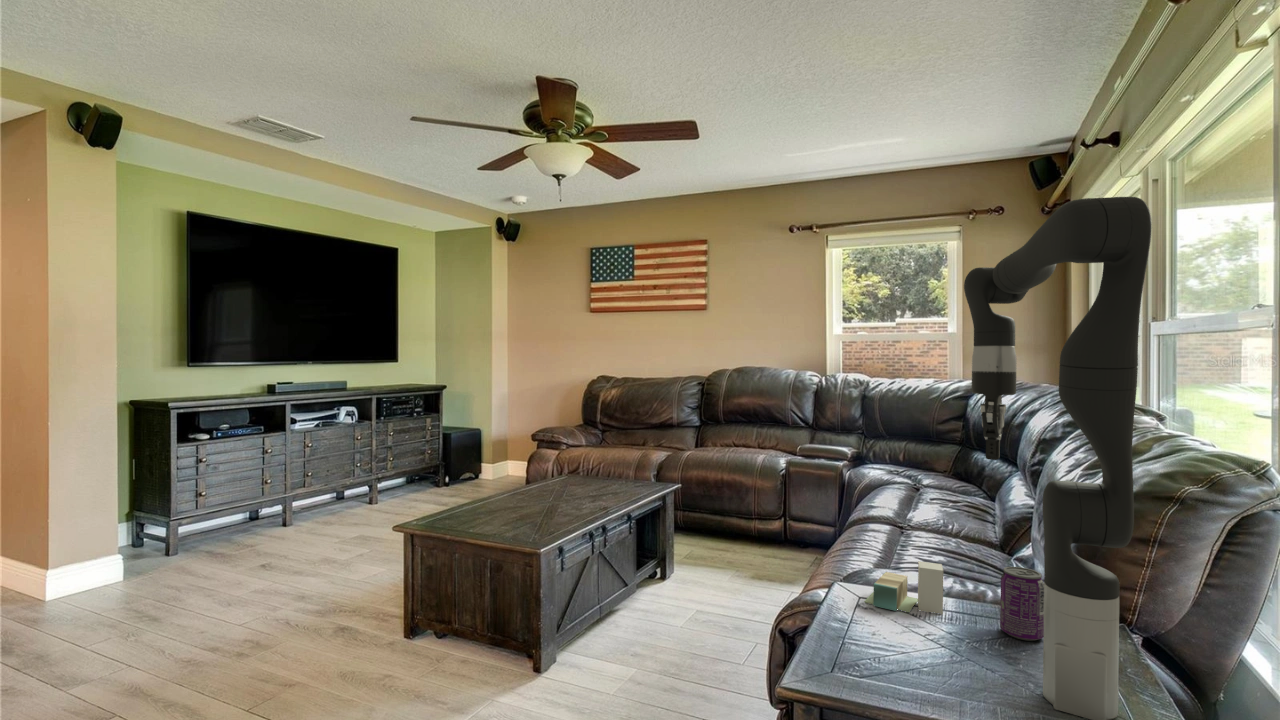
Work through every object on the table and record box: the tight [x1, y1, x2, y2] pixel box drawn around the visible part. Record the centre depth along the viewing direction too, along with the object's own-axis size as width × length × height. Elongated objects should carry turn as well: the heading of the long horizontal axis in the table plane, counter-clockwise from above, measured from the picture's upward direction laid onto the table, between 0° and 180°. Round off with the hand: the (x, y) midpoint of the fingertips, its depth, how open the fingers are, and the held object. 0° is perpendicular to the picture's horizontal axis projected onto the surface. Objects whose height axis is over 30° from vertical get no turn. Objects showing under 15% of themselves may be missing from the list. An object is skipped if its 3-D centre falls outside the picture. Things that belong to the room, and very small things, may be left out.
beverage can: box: [999, 566, 1044, 642], centre depth 116 cm, size 7×7×12 cm
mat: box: [863, 591, 918, 613], centre depth 132 cm, size 9×9×1 cm
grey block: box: [917, 560, 944, 615], centre depth 128 cm, size 4×4×9 cm
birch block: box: [873, 571, 908, 612], centre depth 131 cm, size 4×4×10 cm
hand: (992, 459), depth 119 cm, fingers closed
